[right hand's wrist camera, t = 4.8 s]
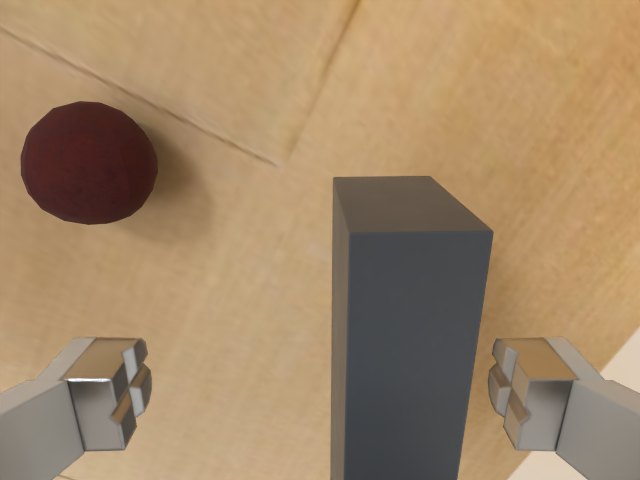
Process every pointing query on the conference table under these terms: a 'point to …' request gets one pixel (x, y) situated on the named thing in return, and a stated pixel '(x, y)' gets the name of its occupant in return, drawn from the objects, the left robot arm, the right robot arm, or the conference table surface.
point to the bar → (403, 326)
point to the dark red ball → (88, 164)
